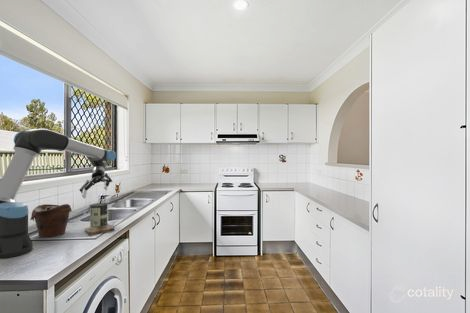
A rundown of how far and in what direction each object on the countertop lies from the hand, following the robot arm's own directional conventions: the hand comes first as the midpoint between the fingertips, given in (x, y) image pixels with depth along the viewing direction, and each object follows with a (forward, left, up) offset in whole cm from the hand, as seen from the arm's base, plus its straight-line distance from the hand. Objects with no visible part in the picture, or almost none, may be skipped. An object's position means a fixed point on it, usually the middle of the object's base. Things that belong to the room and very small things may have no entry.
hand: (94, 192), depth 157 cm
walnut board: (+2, -6, -23) cm, 24 cm away
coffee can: (+4, +6, -23) cm, 24 cm away
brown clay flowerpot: (-21, +6, -23) cm, 32 cm away
